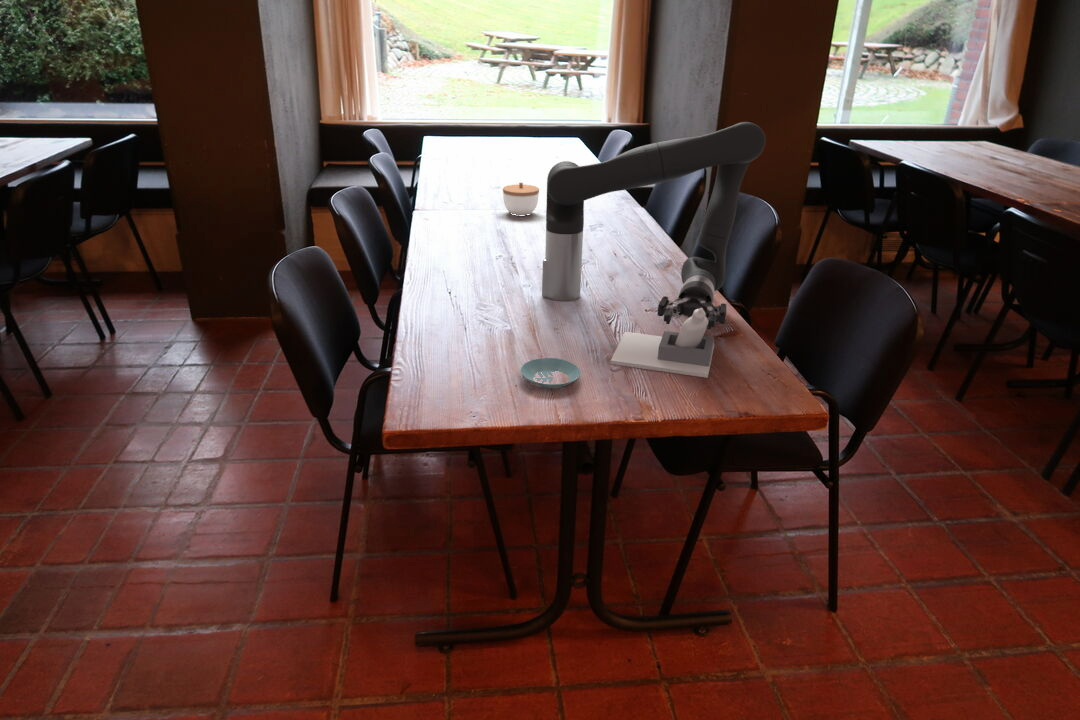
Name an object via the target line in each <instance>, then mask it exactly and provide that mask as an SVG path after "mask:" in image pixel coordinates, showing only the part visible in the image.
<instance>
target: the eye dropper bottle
mask: <svg viewBox="0 0 1080 720" xmlns="http://www.w3.org/2000/svg"><path fill="white" fill-rule="evenodd" d="M705 315H706V314H705V312H704V310H703V308H700V309H696V310H695V311H694V312H693V315H692V316H691V317H687V319H685V321H684V322H683V323H682V325H681V327H680V329H679V332H678V333H679V334H678V337H677V340H676V342H675V345H676V346H681V347H689V348H695V347H696V346H698V345H699V343H700V342H701V340H702V337H703V336H705V332H706V330H707V329H708V319H707V318H706V317H705Z"/></svg>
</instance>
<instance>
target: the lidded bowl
mask: <svg viewBox="0 0 1080 720" xmlns="http://www.w3.org/2000/svg"><path fill="white" fill-rule="evenodd" d="M539 193H540V188H539V187H537V186H535V185H531V184H524V182H519V183H518V184H509V185H505V186H504V187H503V188H502V195H503V196H502V197H503V204H504V206H505V209H506V210H507V212H509V214H511V213H512V214H516V215H527V214H531V215H532V214H533V212H534V211H535V210H536V208H537V206H538V203H539Z"/></svg>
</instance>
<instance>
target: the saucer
mask: <svg viewBox="0 0 1080 720" xmlns="http://www.w3.org/2000/svg"><path fill="white" fill-rule="evenodd" d="M555 371H559V372H563V373H564V374H566V375H568V377H569V382H568V383H564V384H554V383H553V384H543V383H544V382H546V381H547V379H549V383H550V382H551V381H552V379H553V377H548V374H549V375H551V376H553V375H552V373H551V372H555ZM520 372H521V375H522V376H523V377H524V378H525V379H526V380H527V381H529V382H530V383H531V384H533V385H536V386H538V387H542V388H546V389H558V387H559V388H562V387H563V388H564V387H566V386H568V385H570V384H571V383H574V382H575V381H576V380H577V379H579V377H580V376H581V369H580V368H579V367H578V366H577V365H576V364H574V363H573V362H571V361H570V360H569V361H568V360H566V359H561V358H555V357H554V358H553V357H541V358H535V359H531V360H528V361H526V362H525V363H523V364H522V366H521V367H520ZM537 372H538V375H539V376H540V377H541V378H535V379H537V381H540V380H541V379H542V380H543V381H542V383H538V382H535V381H533V378H534V377H535V374H536V373H537ZM541 372H542V374H543V375H544V376H545V377H546V378H542V377H543V375H542V374H541ZM547 373H548V374H547Z"/></svg>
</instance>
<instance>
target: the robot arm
mask: <svg viewBox="0 0 1080 720" xmlns="http://www.w3.org/2000/svg"><path fill="white" fill-rule="evenodd" d="M766 141H767V139H766V134H765V132H764V130H763V129H762V128H761V127H760V126H759V125H757V124H755V123H753V122H749V121H742V122H738V123H735V124H733V125H731V126H728V127H726V128H722V129H720V130H717V131H714V132H711V133H707V134H703V135H700V136H691V137H682V138H676V139H669V140H665V141H658V142H653V143H649V144H644V145H641V146H637V147H635V148H632V149H629V150H627V151H624V152H622V153H621V154H618V155H616V156H615V157H614V156H613V157H612V158H610V159H608V160H605V161H601V162H598V163H597V162H596V163H593V164H586V165H578V164H577V163H575V162H573V161H570V160H569V161H568V160H565V161H559V162H558V163H556V164H555V165H553V166H552V167H551V168H550V171H549V172H548V174H547V179H546V207H545V214H546V215H545V254H544V255H545V258H544V259H543V260H542V277H541V279H542V281H541V283H542V285H541V297H545V298H547V299H550V300H554V301H562V302H564V301H565V302H567V301H574V300H576V299H579V298H580V296H581V290H582V289H581V287H582V286H581V285H582V284H581V283H582V268H583V267H582V263H583V261H582V260H583V241H584V226H585V225H584V221H585V214H584V213H585V211H584V210H585V209H584V207H585V201H586V200H590V199H593V198H596V197H599V196H603V195H605V194H608V193H614V192H620V191H621V192H622V191H625V190H626V191H627V190H631V189H636V188H637V189H638V188H642V187H648V186H653V185H655V184H661V183H665V182H669V181H672V180H675V179H676V180H677V179H678V178H681V177H685V176H687V175H690V174H693V173H695V172H697V171H701V170H703V169H707V168H711V167H717V170H716V176H715V180H714V181H715V182H714V185H713V189H712V193H711V196H710V199H709V201H708V205H707V208H706V212H705V215H704V217H703V222H702V224H701V228H700V233H699V235H698V240H697V243H698V246H700V247H701V248H703V249H704V250H708V252H710V253H712V254H713V256H714V260H710V259H705V258H702V257H700V256H691V257H688V258H687V259H685V261H684V262H683V264H682V265H681V266H682V267H681V271H680V272H681V273H680V275H681V278H680V279H681V282H682V287H681V289H680V292H679V295H678V298H675V299H674V300H670V299H669V296H662V298H661V299H660V301H659V302H658V306H657V316H658V317H663V322H665V324H666V325H670V323H671V321H672V319H673V318H676V319H679V318H683V317H687V318H689V317H691V316H692V315H693V312H694V311H695V310H696V309H700V308H703V310H704V312H705V314H706V315H705V317H706V318H707V319H708V325H707V330H712V329H713V328H715V327H716V324H717V323H719V324H720V325H725V324H726V317H727V304H726V303H720V305H718V306H716V305H714V304H713V303H714V301H715V292H716V291H718V290H720V289H721V288H722V287H723V285H724V283H725V281H726V256H727V248H728V244H729V240H730V237H731V234H732V230H733V226H734V224H735V220H736V215H737V214H736V213H737V207H738V200H739V194H740V190H741V186H742V183H743V180H744V177H745V174H746V172H747V171H748V167H749V165H750V163H751V162H753V161H754V160H756V159H757V158H759V156H761V155H762V153H763V151H764V149H765V147H766V143H767V142H766Z"/></svg>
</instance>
